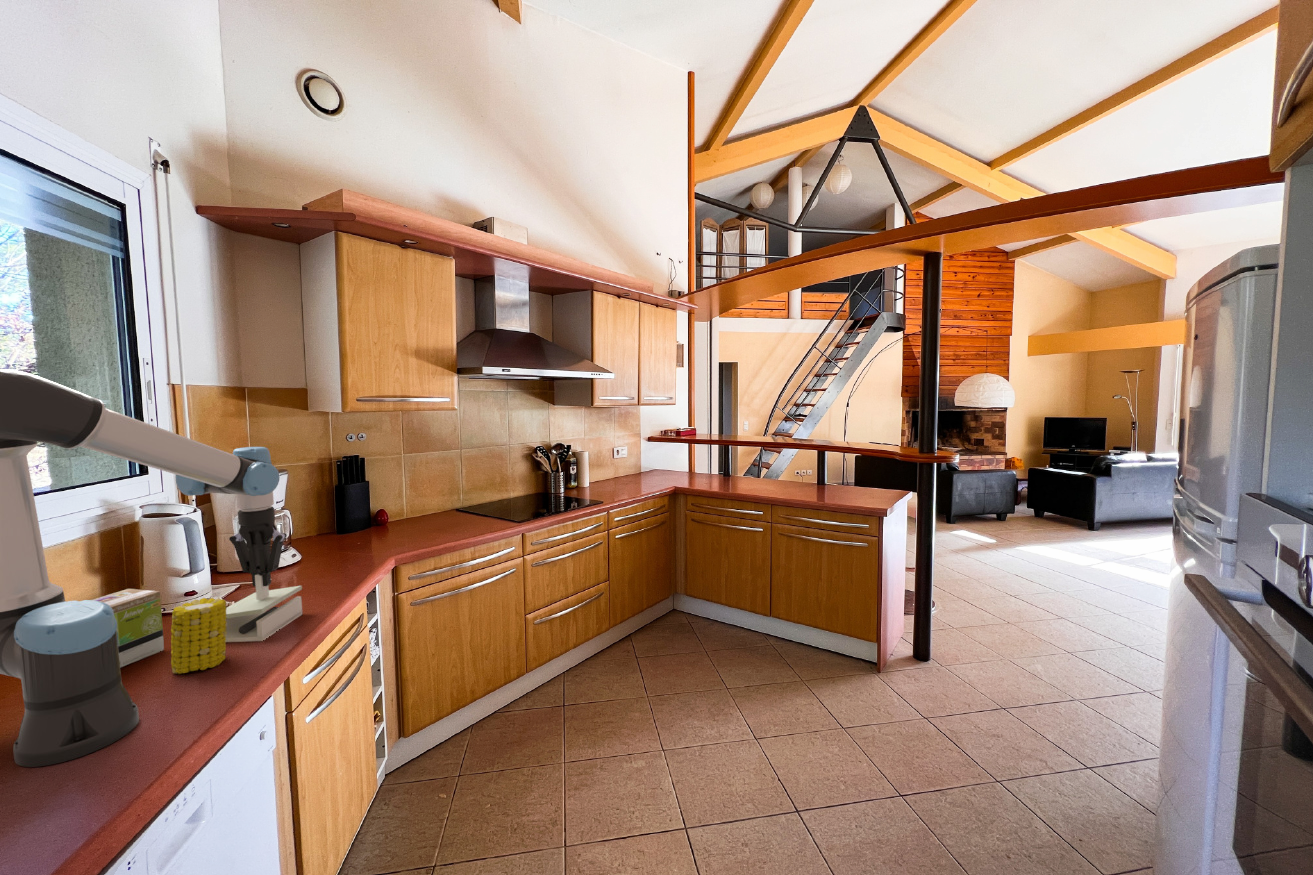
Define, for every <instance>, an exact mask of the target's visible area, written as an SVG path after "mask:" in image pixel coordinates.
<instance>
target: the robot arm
mask: <svg viewBox="0 0 1313 875" xmlns="http://www.w3.org/2000/svg"><path fill="white" fill-rule="evenodd" d="M38 443H44V444H48V445H52V446H53V445H54V446H56V447H60V448H64V449H67V450H69V449H70V450H72V449H76V448H79V447H81V448H84V449H88V450H91V451H96V452H99V453H102V454H106V455H109V456H112V457H116V458H119V459H121V460H122V459H123V460H125V461H129V462H133V463H136V464H139V465H143V466H146V467H150V468H152V469H153V468H154V469H157V470H159V471H163V472H166V473H170V474H174V475H175V484H176V487H177V488H178V490H179V492H180V493H182V494H183V495H185V496H189V497H192V496H203V495H207V494H223V495H224V494H225V495H236V507H237V508H236V509H238V511H237V519H238V520H237V521H238V525H239V526H240V527H239V528H238V532H237V533H235V534H234V535H232V536H229V538H228V539H229V541H230V542H231V543H232V545H233V546H234V550H235V552H236V555H237V558H238V560H239V564H240V567H241V570H242V572H243V573H249V574H250V575H251V584H252V587H255V592H256V598H257V600H263V599H265V598H267V597H268V596H269V590H270V588H269V587H270V585H271V584H272V577H271V573H272V572H274V571H275V570H277V569H279V566H280V561H281V560H280V559H281V556H282V550H283V544H284V541H285V540H286V539H287V536H288V535H287V533H286V532H283V533H282V532H280V531H278V529H277V527H276V525H275V520H276V512H275V507H274V506H273V505H274V504H275V501H274V491H275V490H276V489H277V488H278V485H279V483H280V472H279V470H278V469H277V467H275V465H273V464H272V458H271V454H270V453H271V452H270V450H269V448H267V447H265V446H246V447H239V448H238V447H237V448H235V449H233V451H232V453H230V452H227V451H224V450H221V449H218V448H216V447H214V446H211V445H208V444H206V443H203V442H200V441H198V440H194V439H193V438H189V437H186V436H183V435H180V434H177V433H175V432H172V431H170V430H167V429H163V428H161V427H158V426H156V425H154V424H153V425H152V424H150V423H148V422H145V421H141V420H139V419H136V418H134V417H131V416H128V415H125V414H123V413H120V412H117V411H114V410H111V409H109V408H106V406H105V404H104V402H103V401H102V400H101V399H98V398H96V397H93V396H90V395H87V394H85V393H82V392H80V391H78V390H75V389H72V388H69V387H68V386H65V385H63V384H59V383H57V382H54V381H52V380H49V379H47V378H44V377H41V376H38V375H36V374H32V373H29V372H26V371H22V370H21V371H20V370H17V369H15V370H14V369H0V675H5V676H8V677H13V678H16V679H19V680H20V681H21V683H20V684H21V689H22V697H23V698H22V699H23V704H24V713H23V717H22V719H21V723H20V728H19V732H18V737H17V738H16V740H14V744H13V746H12V747H13V749H12V752H13V758H14V760H13V761H14V763H15V764H16V765H18V766H20V767H26V768H27V767H28V768H34V767H36V768H37V767H45V766H50V765H51V766H52V765H56V764H61V763H65V762H67V761H71V760H75V759H78V758H80V757H83V756H86V755H88V754H91V753H93V752H94V753H95V752H96V751H99V750H101V749H103V748H105V747H108V746H110V745H111V744H114V743H115V742H117V741H119V740H120V739H121V738H124V737H125V736H126V735H128V734H129V733H130V732H131V731H133V730H135V728H136V727H137V725H138V724H139V722H140V716H139V715H140V714H139V708H138V705H137V704H136V703H135V702H133V699H132V697H131V695H130V694H129V692H128V691H127V688H126V686H124V684H123V682H122V681H123V680H122V673H121V668H120V661H119V650H118V640H117V621H116V619H115V616H114V612H113V609H112V608H111V607H110V606H109V605H108V604H106V603H104V602H100V601H95V600H93V599H83V600H80V601H79V600H68V601H66V598H65V592H64V588H63V587H62V586H60V585H57V584H55V583H53V582H50V579H49V578H50V577H49V575H48V574H49V573H48V567H47V562H46V557H45V551H44V546H43V541H42V536H41V530H40V523H39V518H38V513H37V512H38V511H37V507H36V501H35V495H34V490H33V484H32V480H31V474H30V473H31V471H30V469H29V468H30V467H29V462H28V454H29V453H30V452H31V451H32V450H34V449H35V448H36V447H37V446H38ZM271 539H272V540H271ZM272 541H273V542H272Z"/></svg>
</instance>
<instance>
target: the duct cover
mask: <svg viewBox="0 0 1313 875" xmlns="http://www.w3.org/2000/svg"><path fill="white" fill-rule="evenodd" d="M302 590H303V586H302V585H297V586H295V585H294V586H289V587H288V586H287V587H284V588H283V587H281V588H274V589H269V596H268V597H267V598H265V599H263V600H257V598H256V591H255V592H253V593H251V594H249V595H248V596H246V597H243V598H242V599H240V600H238V601H236V602H234V603H232V604H231V605H229V606H226V608H227V609H226V617H227V618H232V617H239V616H246V615H252V614H259V613H263V612H266V611H268V610H269V609H271V608H273V607H276V606H277V605H278V604H280V603H282V602H283V601H285V600H287V599H288V598H290V597H292V596H294V594H297V593H298V592H300V591H302Z"/></svg>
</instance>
